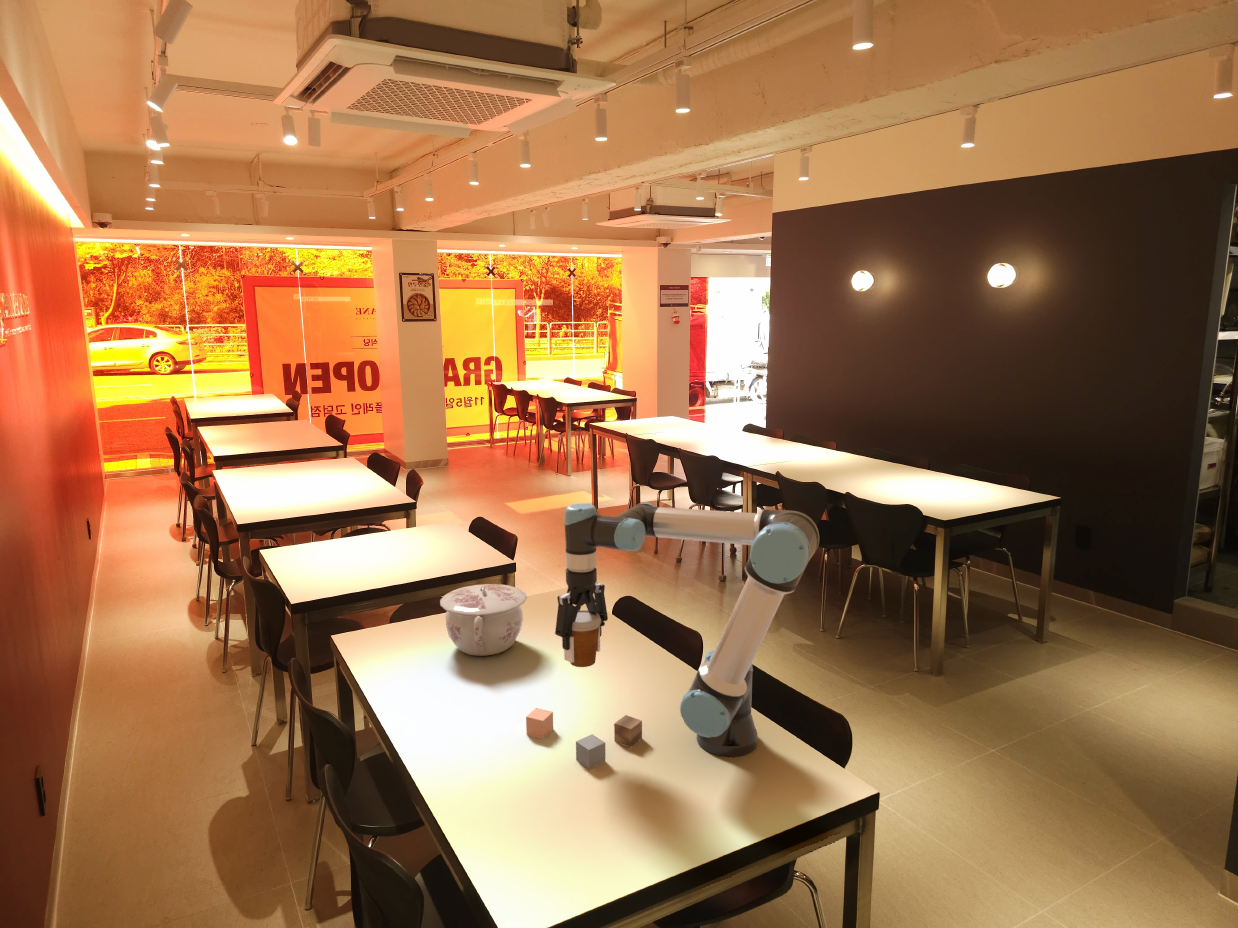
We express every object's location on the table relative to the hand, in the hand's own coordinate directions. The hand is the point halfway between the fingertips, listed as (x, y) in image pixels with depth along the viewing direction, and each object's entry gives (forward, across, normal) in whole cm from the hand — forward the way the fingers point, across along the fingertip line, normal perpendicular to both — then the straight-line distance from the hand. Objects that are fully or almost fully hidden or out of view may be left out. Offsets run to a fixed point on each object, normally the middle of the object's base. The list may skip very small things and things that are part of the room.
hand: (582, 655), depth 192 cm
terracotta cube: (+22, +6, -10) cm, 25 cm away
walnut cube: (+22, -7, +9) cm, 25 cm away
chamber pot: (+22, -15, -63) cm, 69 cm away
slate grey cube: (+22, +6, +9) cm, 25 cm away
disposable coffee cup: (+2, 0, 0) cm, 2 cm away
